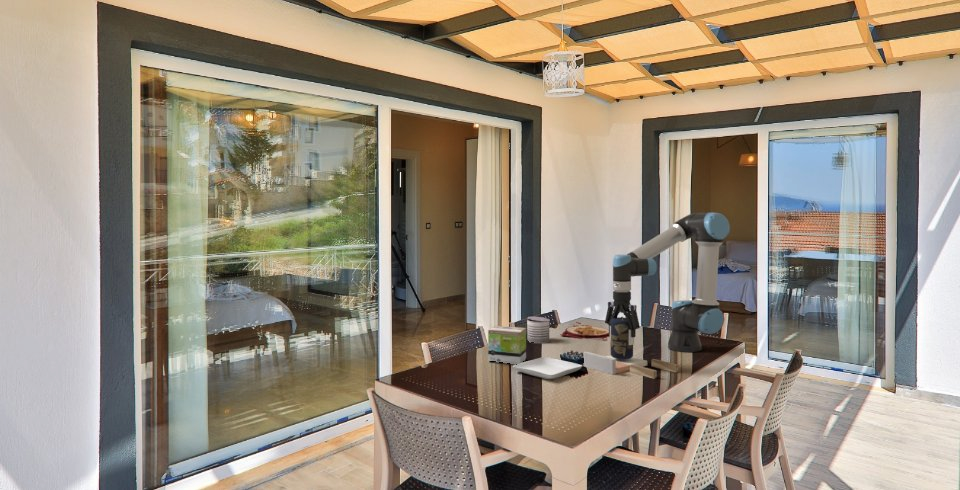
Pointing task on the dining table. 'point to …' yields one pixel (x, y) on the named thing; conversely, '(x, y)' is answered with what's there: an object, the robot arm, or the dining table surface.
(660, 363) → the rails
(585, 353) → the board
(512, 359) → the tea box
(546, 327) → the can
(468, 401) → the dining table surface
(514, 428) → the dining table surface
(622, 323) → the canister
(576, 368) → the salad plate
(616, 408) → the dining table surface
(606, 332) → the plate with food
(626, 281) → the robot arm
